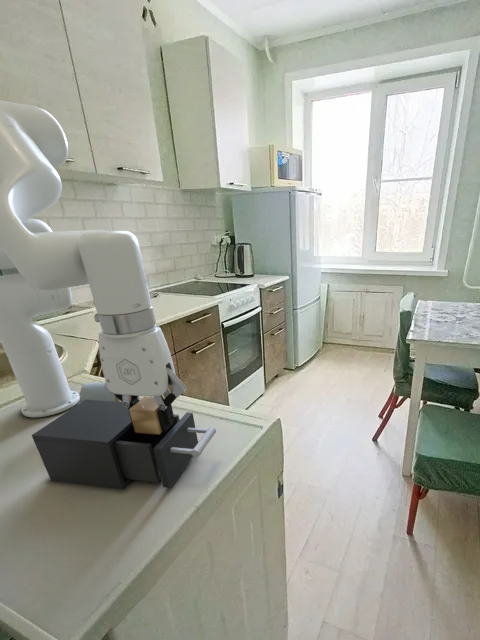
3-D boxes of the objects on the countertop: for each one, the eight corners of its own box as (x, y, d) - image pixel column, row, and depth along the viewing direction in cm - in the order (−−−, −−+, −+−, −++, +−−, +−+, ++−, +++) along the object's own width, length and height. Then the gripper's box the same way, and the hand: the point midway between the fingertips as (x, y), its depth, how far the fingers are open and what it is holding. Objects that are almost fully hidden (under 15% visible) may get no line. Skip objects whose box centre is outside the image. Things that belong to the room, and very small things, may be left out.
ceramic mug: (123, 416, 82) (115, 386, 79) (85, 422, 80) (75, 391, 77) (131, 397, 91) (124, 369, 88) (97, 401, 90) (88, 374, 87)
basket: (224, 449, 67) (219, 414, 63) (198, 491, 57) (191, 452, 53) (137, 441, 71) (127, 407, 67) (98, 479, 61) (85, 442, 57)
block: (135, 432, 59) (128, 409, 57) (150, 418, 63) (144, 396, 61) (159, 434, 58) (153, 411, 56) (173, 420, 62) (167, 397, 60)
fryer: (161, 445, 71) (151, 403, 66) (123, 489, 60) (107, 442, 55) (98, 439, 74) (85, 399, 69) (50, 480, 63) (31, 435, 58)
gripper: (61, 327, 51) (96, 434, 59) (167, 329, 47) (189, 442, 55) (96, 314, 57) (124, 411, 65) (191, 315, 54) (209, 417, 62)
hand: (154, 424), depth 60 cm, fingers closed on block, 4 cm apart
